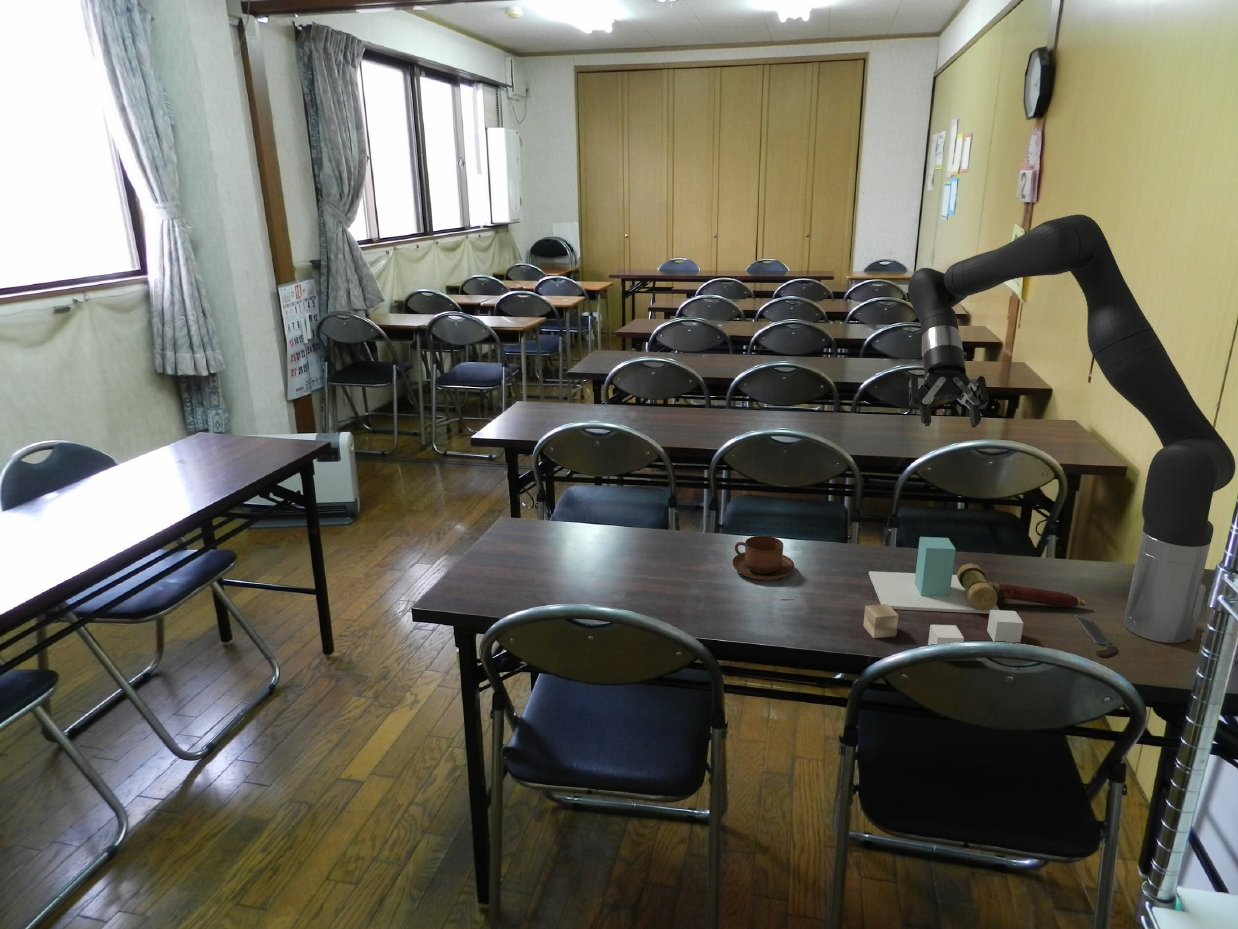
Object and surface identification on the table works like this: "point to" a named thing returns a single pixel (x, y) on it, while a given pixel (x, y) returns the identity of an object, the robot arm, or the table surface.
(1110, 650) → the knife
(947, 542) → the teal block
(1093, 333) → the robot arm
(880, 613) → the birch cube right
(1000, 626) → the grey cube left
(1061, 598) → the gavel
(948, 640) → the white cube back
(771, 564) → the cup and saucer
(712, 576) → the table surface
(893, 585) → the white mat
